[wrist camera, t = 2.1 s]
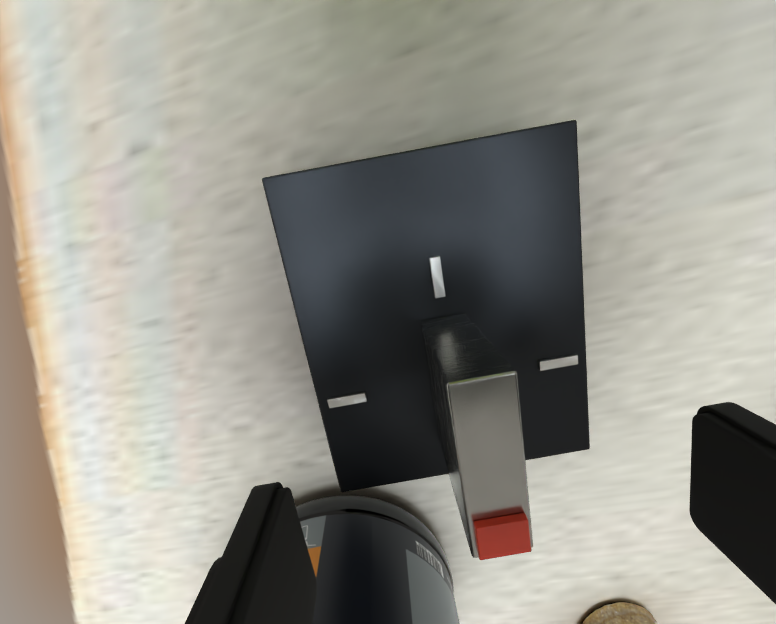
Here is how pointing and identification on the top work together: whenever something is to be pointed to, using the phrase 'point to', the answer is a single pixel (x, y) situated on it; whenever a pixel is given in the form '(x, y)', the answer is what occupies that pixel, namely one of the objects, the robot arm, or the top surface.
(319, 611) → the supplement container
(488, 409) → the knob
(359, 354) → the hob panel
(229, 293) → the top surface
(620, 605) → the sprinkles bottle
